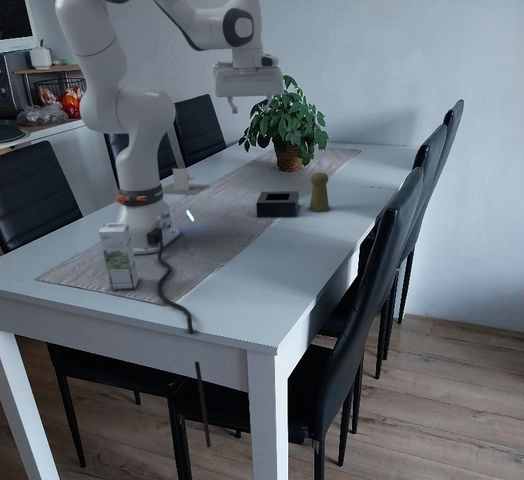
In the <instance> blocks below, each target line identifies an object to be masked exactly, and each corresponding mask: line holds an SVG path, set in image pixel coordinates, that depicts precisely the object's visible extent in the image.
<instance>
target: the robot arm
mask: <svg viewBox="0 0 524 480" xmlns="http://www.w3.org/2000/svg"><path fill="white" fill-rule="evenodd" d="M128 2H130V0H55V2H54V12H55V14H56V19H57V21H58V23H59V26H60V29H61V31H62V34H63V37H64V39H65V40H66V41H65V42H66V43H67V45H68V47H69V49H70V51H71V54H73V57H74V59H75V61H76V62H77V65H78V66H79V68H80V71H81V73H82V75H83V77H84V81H85V85H86V90H85V92H84V93H83V95H82V96H81V98H80V102H79V114H80V118H81V120H82V122H83V124H84V125H85V127H86V128H87V129H89V130H90V131H94V132H98V133H100V134H106V135H119V134H121V135H122V134H123V135H124V134H125V135H128V138H129V141H128V146H127V147H126V148H123V150H121V151H120V152H119V153H118V154H117V156H116V158H115V163H114V164H115V168H116V174H117V179H118V184H119V185H118V186H119V187H118V194H117V195H116V196H115V197H116V198H115V200H116V202H117V204H119V209H118V211H117V212H118V213H117V216H116V220H115V223H128V225H129V230H130V236H131V241H132V247H133V253H134V255H147V254H155V253H157V261H158V263H160V264H161V265H162V266H164V267H165V268H167V270H166V272H165V273H164V274H163V275H162V276H161V278H160V279H159V280H158V283H157V293H158V296H159V298H160V299H161V300H162V301H163V302H164V303H165V304H167V305H169V306H171V307H173V308H175V309H178V310H179V311H182V312H183V313H184V314H185V316H186V322H187V329H188V334H189V335H194V328H193V321H192V320H193V319H192V318H193V317H192V314H191V313H190V311H189V310H188V309H187V308H186V307H185V306H183V305H181V304H180V303H177V302H174V301H172V300H170V299H168V297H166V296H165V295H164V292H163V283H164V282H165V281H166V279H168V277H169V276H170V274H171V272H172V266H171V265H170V264H169V263H167V262H165V261H164V260H163V259H162V255H163V252H164V248H165V247H166V246H167V245H169V244H170V243H171V242H172V241H174V240H175V239H176V238H177V237H179V236H180V234H181V233H180V232H181V231H180V230H179V229H177V228H175V224H174V220H173V219H174V218H173V215H172V214H173V213H172V210H171V206H170V205H169V203H167V202H166V201H165V199H164V193H163V189H164V188H163V185H162V183H161V181H160V173H159V165H158V164H159V163H158V153H159V152H158V151H159V147H160V143H161V141H162V139H163V138H164V135H166V133H167V132H168V131H169V130H170V129H171V128H172V126H173V124H174V122H175V119H176V106H175V102H174V100H173V98H172V96H171V95H170V94H169V93H168V92H167V91H166V90H163V89H161V88H157V87H156V88H155V87H149V86H138V87H137V86H136V87H135V86H134V87H132V86H131V87H126V86H125V87H124V86H122V85H121V84H120V83H121V81H122V80H123V79H124V78H125V77H126V75H127V73H128V69H129V60H128V57H127V54H126V52H125V50H124V47H123V45H122V43H121V41H120V38H119V36H118V34H117V32H116V31H117V30H116V29H115V26H114V25H113V23H112V21H111V19H110V17H109V12H108V3H111V4H114V5H115V4H117V5H120V4H121V5H122V4H125V3H126V4H127V3H128ZM153 2H154V3H155V5H157V7H158V8H159V9H160V10H161V12H162V13H163V14H164V15H165V16H167V18H168V19H169V20H170V21H171V22H172V23H173V24H174V25H175V27H177V28H178V30H179V31H180V32H181V34H182V35H183V37H184V39H185V41H186V42H187V44H188V46H189V47H190V48H192V49H193V50H194V51H197V52H204V51H205V52H206V51H212V50H214V51H215V50H231V60H226V61H217V63H215V64H214V65H213V67H212V75H213V78H214V94H215V96H216V97H217V98H227V103H228V105H229V106H230V107H231V113H232V114H234V115H235V114H239V108H238V105H237V106H236V105H235V104H234V102H233V101H234V98H239V97H242V98H243V97H266V100H268V101H267V103H266V105H263V106H262V107H263V113H264V114H268V113H270V105H271V103H272V101H273V96H282V95H283V93H284V92H285V82H284V74H283V71H282V69H281V68H280V67H279V65H280V59H279V57H278V56H274V55H272V54H269V53H264V46H263V41H262V33H263V19H262V8H261V5H260V0H229V1H228V2H227V3H226V4H224V5H223V6H222V7H213V8H197V7H193V6H192V5H191V4H190V3H189V2H188V0H153ZM186 214H187V215H188V217H189V218H190V220H191V221H192V222H194V221H195V219H194V217H193V216H192V214H191V212H190V211H189V210H188V209H187V210H186ZM194 368H195V374H196V379H197V387H198V393H199V399H200V407H201V414H202V415H201V416H202V421H203V422H202V423H203V427H204V435H205V443H206V448H211V447H212V444H211V438H210V437H211V436H210V430H209V421H208V415H207V407H206V400H205V392H204V385H203V378H202V371H201V365H200V361H194Z"/></svg>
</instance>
